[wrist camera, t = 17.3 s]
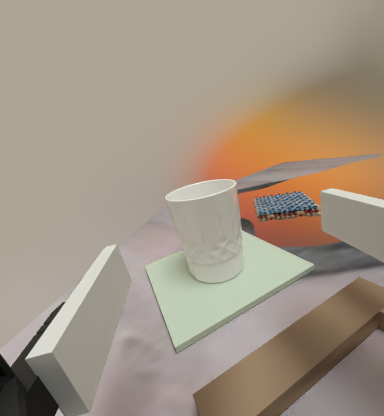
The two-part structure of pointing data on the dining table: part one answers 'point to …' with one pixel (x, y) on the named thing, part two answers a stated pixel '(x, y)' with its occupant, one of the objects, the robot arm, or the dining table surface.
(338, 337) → the brown square frame
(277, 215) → the woven mat
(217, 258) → the white cup
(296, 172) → the dining table surface
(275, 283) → the sage pad
